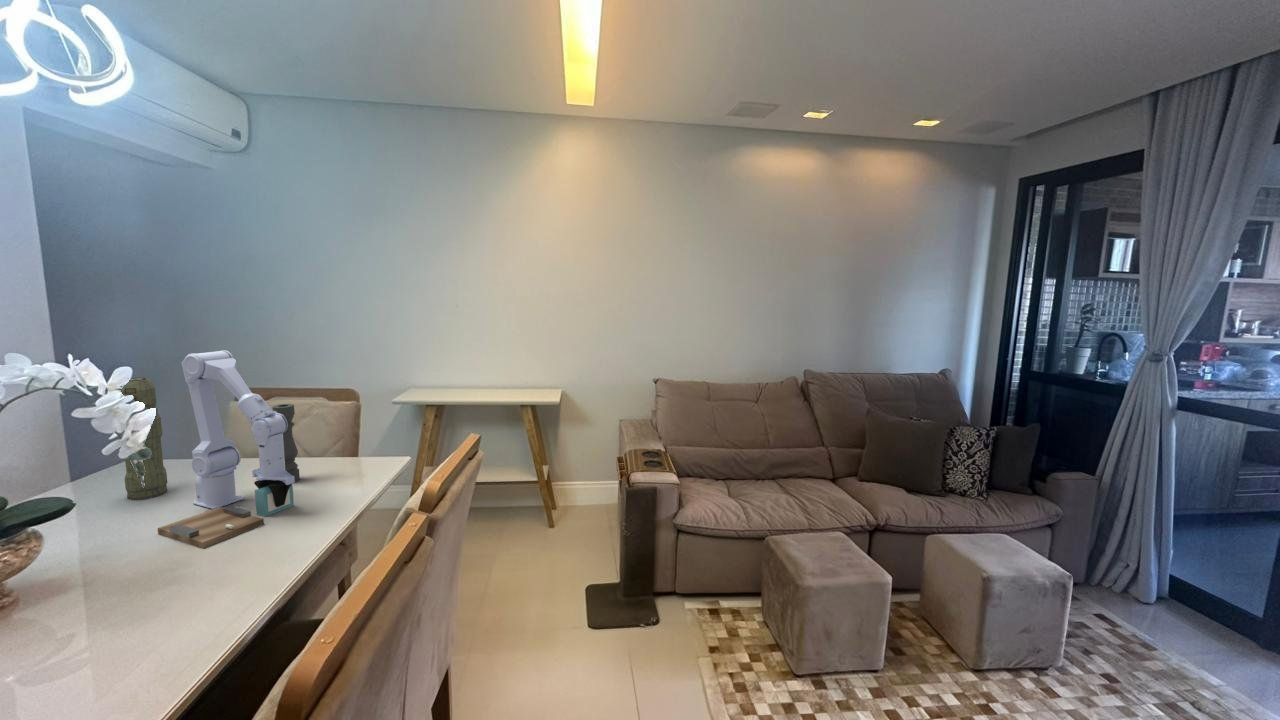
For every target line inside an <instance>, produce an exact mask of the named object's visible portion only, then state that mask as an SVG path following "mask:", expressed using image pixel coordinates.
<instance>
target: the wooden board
mask: <svg viewBox="0 0 1280 720" xmlns="http://www.w3.org/2000/svg"><path fill="white" fill-rule="evenodd" d="M262 525H265V519H264V518H262V517H259V516H254V515H252V511H251V510H248V509H244V508H241V507H236V506H233V505H230V506H227V507H223V506H222V507H218V508H215V509H210V510H207V511H203V512H201V513H198V514H195V515H192V516H189V517H186V518H184V519H181V520H177V521H175V522H172V523H168V524H166V525H162V526H160V527H157V534H158V535H162V536H164V537H166V538H167V537H168V538H169V539H174V540H176V541H179V542H183V543H186V544H189V545H192V546H194V547H198V548H201V549H206V548H207V547H210V546H213V545H216V544H218V543H220V542H222V541H225V540H227V539H230V538H233V537H236V536H238V535H240V534H242V533H245V532H247V531H250V530H253V529H255V528H257V527H259V526H262Z"/></svg>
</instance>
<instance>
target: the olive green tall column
mask: <svg viewBox="0 0 1280 720" xmlns="http://www.w3.org/2000/svg"><path fill="white" fill-rule="evenodd" d="M130 378H131V379H130V380H129V382H128V383H127V384H126V385H125V386H124V387H123V388H122V389H121V392H122V394H123V395H133V396H134V400H135V401H139V402H143V403H144V404H145V409H150V408H156V416H155V419H154V421H153V424H152V426H151V429H150V432H149V434H148V436H147V439H146V442H145V445H146V447H148V448H150V449H151V451H152V455H151V458H150V459H146V460H143V463H144V466H145V471H146V472H145V475H144V483H145V488H143V487H142V484H141V480H140V479H139V478H138V477H137V474H136V472H135V470H134V468H133V466H132V464H131V462H130V459H125V458H124V461H125V470H126V471H125V472H126V473H125V476H124V487H125V491H126V492H127V493H126V494H127V495H126V497H127V499H128V500H130V499H131V501H138V499H142V500H147V499H146V498H148V499H151V498H150V497H153V498H156V497H160V496H162V495H164V494H167V492H168V491H169V490H168V486H167V484H168V475H167V470H166V467H165V466H164V459H163V457H164V456H163V449H162V439H161V438H162V436H163V427H162V417H161V415H160V414H159V413H158V408H157V405H156V404H157V396H156V387H155V385H154V384H153V381H152V380H151V379H150V378H148V377H130ZM155 496H156V497H155Z"/></svg>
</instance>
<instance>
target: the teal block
mask: <svg viewBox="0 0 1280 720" xmlns="http://www.w3.org/2000/svg"><path fill="white" fill-rule="evenodd" d="M254 499H255V512H256V515H257V516H261V517H264V518H265V517H268V516H270V515H273V514H275V513H278V512H280V511H284V510H287V509H290V508H291V507H294V505H295V502H294V488H293V483H292V484H291V486H290V488H289V490H288V493H287V496H286V500H285V504H284V505H282V506H279V507H276V506H275V503H274V498H273V494H272V492H271V490H270V488H269V487H268V486H266V487H263V488H260V489H258V488H257V489H255V490H254Z"/></svg>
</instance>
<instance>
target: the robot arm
mask: <svg viewBox="0 0 1280 720" xmlns="http://www.w3.org/2000/svg"><path fill="white" fill-rule="evenodd" d="M237 362H238V361H237V360H236V359H235V358H234V355H233V354H232V353H231V352H230V351H229V350H225V349H222V350H221V349H220V350H218V351H208V352H200V353H189V354H187V355H186V356H185V357H184V359H183V360H182V361H181V367H182V371H183V375H184V380H185V383H186V384H187V387H188V391H189V397H190V400H191V405H192V409H193V414H194V418H195V422H196V426H197V430H198V435H199V438H200V439H199V440H200V442H199V444H198V445H197V446H196V447H195V448H194V449H193V450H192V451H191V455H192V461H191V468H192V470H193V472H194V473H195V474H196V475H197V476H196V478H195V482H194V484H195V485H194V486H195V495H196V497H195V498H196V500H195V501H193V502H192V504H193V505H197V506H201V507H204V508H208V509H210V510H212V509H215V508H218V507H222V508H223V507H224V506H227V505H230V504H233V503H237V502H240V501H242V500H244V497H243V496H239V495H236V494H237V492H236V482H235V481H236V480H235V470H237V467H238V465H240V462H241V457H242V456H241V452H240V451H239V449H238V448H237V445H236V442H235V441H234V440H232V439H229V438H226V436H225V432H224V428H223V424H222V423H223V422H222V418H221V415H220V410H219V405H218V401H217V396H216V392H215V388H214V385H215V384H216V382H218V381H220V383H222V384H223V385H224V387H225V388H226V389H227V390H228V391H230V393H232V395H233V396H234V397H235V398H237V400H238V402H237V408H238V409H239V410H240V411H241V412H242V414H243V415H244V416H245V417H246V419H247V420H248V421H249V423H251V425H252V426H251V427H250V430H251V434H252V435H253V437H254V439H255V443H256V445H257V448H258V450H257V451H258V461H259V462H258V463H259V464H258V465H259V468H255V469H253V470H252V471H251V472H252V478H256V480H254V483H253V484H254V485H255V486H256V488H257V489H260V488H263V487H266V486H268V487H269V488H270V490H271V492H272V494H273V498H274V503H275V506H276V507H279V506H282V505H284V504H285V500H286V496H287V493H288V490H289V488H290V486H291V484H292V485H293V484H294V483H296V482H295V479H294V476H292V475H290V474H289V473H288V472H287V471H286V470H285V458H284V442H283V433H284V432H285V431H286V430H287V428H288V423H287V420H286V418H285V416H284V415H282V414H280V413H277V412H276V411H273V410H272V408H271V407H270V405H269V404H268V403H267V402H266V401H265V399H264V398H263V397H262V396H261V395H260V394H258V393H253V392H252V390H251V389H250V388H249V387H248V385H247V384H246V382H245V381H244V379H243V378H242V375H240V373H239V372H238V370H237Z"/></svg>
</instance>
